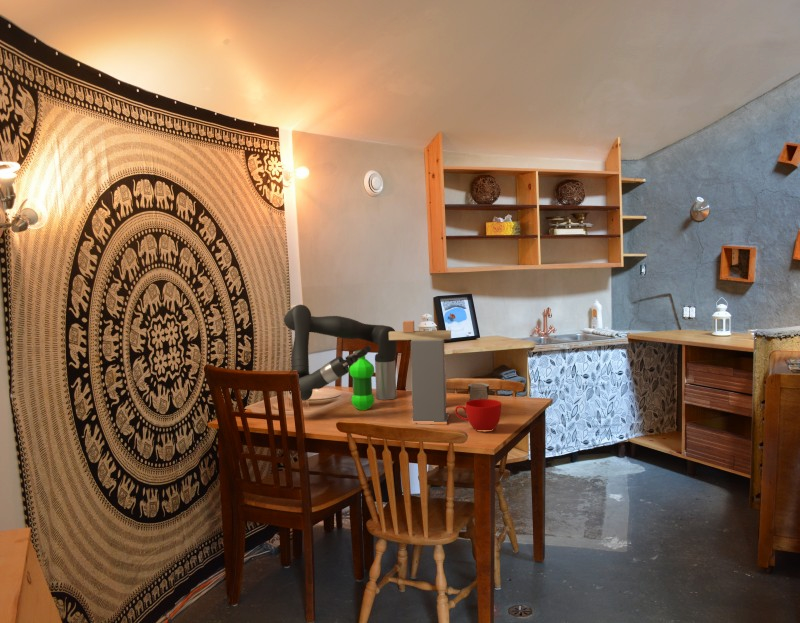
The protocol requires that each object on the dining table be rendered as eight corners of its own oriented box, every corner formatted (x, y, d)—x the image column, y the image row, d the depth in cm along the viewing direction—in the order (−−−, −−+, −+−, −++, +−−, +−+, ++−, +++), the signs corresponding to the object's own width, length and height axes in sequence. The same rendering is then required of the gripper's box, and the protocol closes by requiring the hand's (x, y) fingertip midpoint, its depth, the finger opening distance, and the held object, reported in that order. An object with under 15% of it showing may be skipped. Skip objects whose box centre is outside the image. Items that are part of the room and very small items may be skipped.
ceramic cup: (456, 424, 237) (456, 398, 237) (502, 425, 235) (501, 399, 234) (454, 434, 225) (453, 407, 224) (501, 435, 222) (501, 407, 221)
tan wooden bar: (390, 338, 247) (389, 331, 246) (451, 337, 244) (450, 330, 243) (388, 340, 243) (388, 332, 243) (450, 339, 240) (450, 331, 240)
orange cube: (404, 331, 246) (404, 320, 246) (414, 330, 245) (414, 320, 245) (403, 332, 242) (402, 322, 242) (413, 332, 242) (413, 321, 241)
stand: (414, 415, 254) (411, 336, 251) (448, 415, 252) (446, 336, 249) (410, 424, 240) (407, 341, 237) (446, 424, 238) (444, 341, 235)
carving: (487, 416, 248) (487, 386, 247) (468, 416, 249) (468, 386, 248) (488, 412, 254) (487, 383, 253) (469, 412, 255) (469, 383, 254)
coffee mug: (491, 411, 256) (490, 386, 256) (470, 411, 256) (469, 387, 256) (486, 404, 268) (486, 381, 267) (466, 405, 268) (466, 382, 267)
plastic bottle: (355, 412, 261) (353, 353, 259) (348, 407, 270) (346, 350, 268) (378, 409, 264) (376, 351, 262) (370, 404, 274) (368, 348, 272)
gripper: (325, 364, 242) (360, 343, 239) (333, 358, 256) (366, 338, 253) (335, 381, 242) (370, 360, 239) (343, 374, 256) (376, 354, 254)
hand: (368, 349), depth 246 cm, fingers open, 8 cm apart
